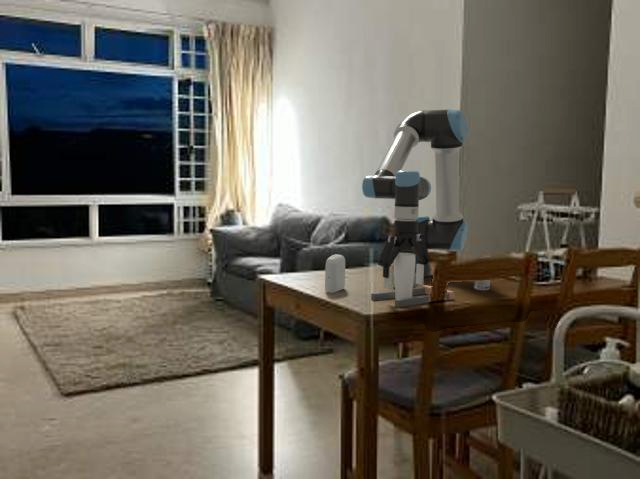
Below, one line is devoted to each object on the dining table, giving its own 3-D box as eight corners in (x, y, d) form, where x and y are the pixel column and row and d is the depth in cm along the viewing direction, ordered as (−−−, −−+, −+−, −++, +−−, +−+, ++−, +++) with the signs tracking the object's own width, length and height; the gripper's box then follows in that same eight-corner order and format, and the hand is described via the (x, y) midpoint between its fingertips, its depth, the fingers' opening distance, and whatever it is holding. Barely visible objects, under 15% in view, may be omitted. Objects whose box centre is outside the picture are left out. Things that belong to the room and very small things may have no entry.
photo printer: (335, 293, 218) (335, 257, 217) (323, 292, 220) (324, 256, 219) (346, 288, 228) (347, 253, 226) (335, 287, 229) (335, 252, 228)
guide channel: (425, 292, 223) (425, 285, 223) (453, 299, 212) (453, 291, 212) (371, 299, 209) (371, 291, 209) (398, 307, 199) (398, 299, 198)
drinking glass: (391, 298, 212) (392, 252, 210) (411, 298, 213) (413, 252, 211) (395, 302, 205) (396, 255, 204) (416, 302, 206) (417, 255, 204)
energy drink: (490, 288, 232) (491, 255, 231) (488, 291, 227) (490, 257, 226) (474, 287, 234) (476, 254, 233) (473, 289, 229) (474, 256, 228)
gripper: (383, 222, 195) (381, 291, 198) (442, 219, 210) (440, 284, 212) (367, 220, 202) (366, 287, 204) (426, 217, 216) (424, 280, 218)
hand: (403, 286), depth 208 cm, fingers open, 13 cm apart
